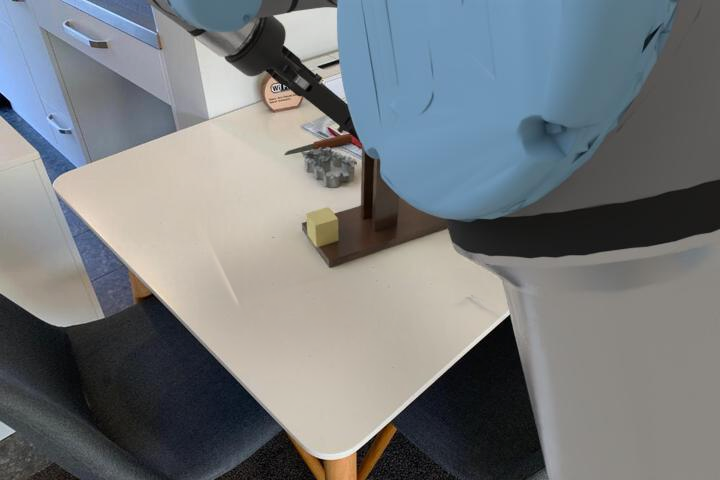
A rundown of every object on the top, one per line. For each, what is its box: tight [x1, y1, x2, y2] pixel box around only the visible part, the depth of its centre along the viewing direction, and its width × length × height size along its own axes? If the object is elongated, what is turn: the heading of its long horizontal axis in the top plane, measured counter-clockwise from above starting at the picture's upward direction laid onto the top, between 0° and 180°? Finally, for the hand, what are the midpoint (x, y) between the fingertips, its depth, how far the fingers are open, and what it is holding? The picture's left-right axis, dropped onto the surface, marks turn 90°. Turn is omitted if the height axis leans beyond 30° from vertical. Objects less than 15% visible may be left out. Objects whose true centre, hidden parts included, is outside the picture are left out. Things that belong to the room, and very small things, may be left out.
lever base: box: [301, 144, 448, 268], centre depth 85 cm, size 24×11×17 cm, turn 118°
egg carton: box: [300, 147, 358, 188], centre depth 103 cm, size 11×8×4 cm
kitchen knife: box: [283, 133, 353, 156], centre depth 111 cm, size 16×1×2 cm, turn 119°
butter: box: [305, 206, 338, 249], centre depth 84 cm, size 4×4×4 cm
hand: (360, 127), depth 77 cm, fingers closed on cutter, 9 cm apart
